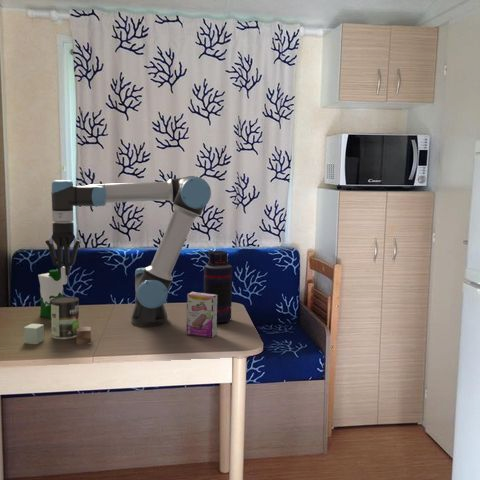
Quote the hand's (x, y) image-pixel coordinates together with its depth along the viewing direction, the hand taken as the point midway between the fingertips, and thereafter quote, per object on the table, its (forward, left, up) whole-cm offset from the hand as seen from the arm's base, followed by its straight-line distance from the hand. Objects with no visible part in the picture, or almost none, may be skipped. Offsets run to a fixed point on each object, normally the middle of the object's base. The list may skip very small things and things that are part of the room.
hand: (64, 283), depth 206 cm
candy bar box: (-52, -4, -21) cm, 56 cm away
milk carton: (+14, -26, -21) cm, 36 cm away
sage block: (+9, +8, -20) cm, 24 cm away
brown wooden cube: (-9, +7, -20) cm, 23 cm away
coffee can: (0, 0, -21) cm, 21 cm away
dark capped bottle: (-57, -24, -21) cm, 65 cm away
